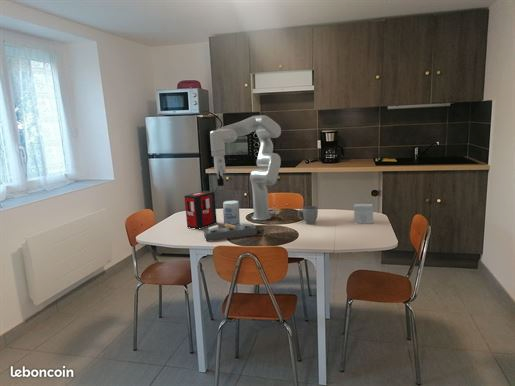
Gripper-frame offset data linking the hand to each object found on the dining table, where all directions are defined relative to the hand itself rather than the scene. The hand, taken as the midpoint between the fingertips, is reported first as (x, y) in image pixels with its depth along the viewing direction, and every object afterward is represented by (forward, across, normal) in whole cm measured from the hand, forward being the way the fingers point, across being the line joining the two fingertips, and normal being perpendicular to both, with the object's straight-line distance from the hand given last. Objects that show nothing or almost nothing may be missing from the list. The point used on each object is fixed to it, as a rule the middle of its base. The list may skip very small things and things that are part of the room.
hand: (220, 185), depth 216 cm
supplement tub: (+27, +11, -7) cm, 30 cm away
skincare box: (+27, -16, -80) cm, 86 cm away
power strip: (+27, -9, -4) cm, 29 cm away
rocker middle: (+22, -9, -2) cm, 24 cm away
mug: (+27, -4, -50) cm, 57 cm away
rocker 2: (+22, -9, -11) cm, 26 cm away
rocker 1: (+22, -9, +7) cm, 25 cm away
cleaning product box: (+27, +20, +10) cm, 35 cm away
